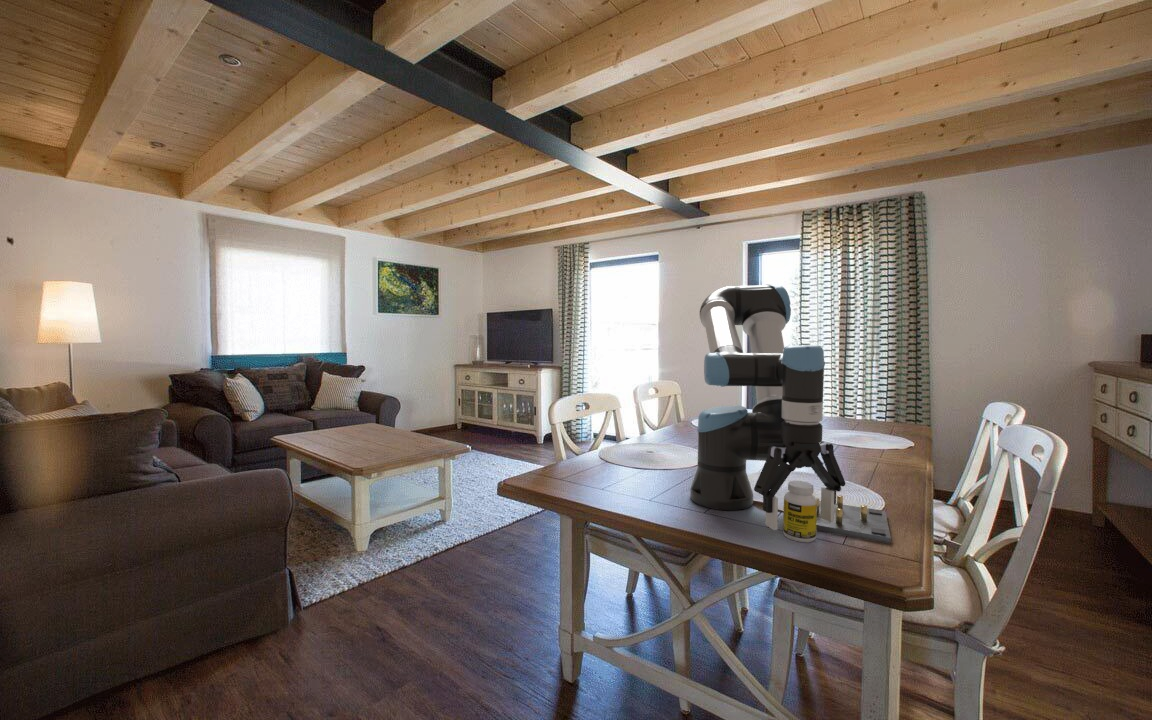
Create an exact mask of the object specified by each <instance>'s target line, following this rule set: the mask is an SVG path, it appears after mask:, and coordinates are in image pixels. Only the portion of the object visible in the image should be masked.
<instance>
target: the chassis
mask: <svg viewBox="0 0 1152 720" xmlns="http://www.w3.org/2000/svg"><path fill="white" fill-rule="evenodd" d="M815 498H816V499H817V522H816V532H824V533H829V534H834V535H839V536H845V537H850V538H856V539H862V540H867V541H873V542H879V543H884V544H889V545H891V541H892V537H891V533H890V528H889V523H888V517H887V514H886V510H883V509H876V508H868V505H864V504H861V505H860V506H854V505H850V504H849V505H847V504H844V503H843V502H844V496H843V495H840V494H836V504H835V505H834V522H829V521H827V520H825V519H823V518H821V500H820V498H818V497H815Z"/></svg>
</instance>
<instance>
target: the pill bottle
mask: <svg viewBox="0 0 1152 720" xmlns="http://www.w3.org/2000/svg"><path fill="white" fill-rule="evenodd" d="M814 489H815V488H814V484H812V483H810V482H807V481H803V480H791V481H788V483H787V490H788V491H787V492H786V493H785V494H784V497H783V519H782V521H783V522H782V533H783V535H784V536H785V537H786V538H787V539H789V540H791V541H795V542H800V543H810V542H813V541H815V540H816V538H817V530H816V522H817V499H816V498H817V497H816V496H815V495H814Z"/></svg>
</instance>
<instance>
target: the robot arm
mask: <svg viewBox="0 0 1152 720" xmlns="http://www.w3.org/2000/svg"><path fill="white" fill-rule="evenodd" d="M791 314H792V308H791V300H790V296H789V293H788V291H787V289H786V288H785V287H783V285H778V284H777V285H776V284H774V285H773V284H765V285H728V286H724V287H720V288H719V289H718V288H717V290H715V291H713V292H712V293H710V294H709V295H707V297H706V298H705V299H704V300H703V302H702V304H701V306H700V308H699V320H700V323H701V325H702V326H703V327H704V329H705V332H706V339H707V345H708V348H709V353H706V354H705V355H704V359H703V374H704V375H703V376H704V382H705V383H706V384H707V385H709V386H716V387H718V386H719V387H721V388H722V387H755V392H756V393H755V395H756V402H757V403H756V404H754V405H753V407H752V409H751V412H748V409H747V408H746V407H745V406H742V405H722V406H716V407H715V406H714V407H710V408H707V409H704V410H702V411H700V413H699V415H698V421H697V427H696V431H697V469H696V471H695V473H694V477H693V480H692V482H691V485H690V490H689V492H690V493H689V494H690V495H689V496H690V499H691V500H692V502H694V503H695V504H697V505H699V506H702V507H705V508H708V509H712V510H723V511H739V510H744V509H747V508H750V507H752V506H753V504H754V492H755V493H757V494H759V495H761V496H762V509H763V511H764V512H765V526H766V527H769V528H770V529H772V530H773V531H777V530H778V521H779V520H778V518H779V517H778V515H779V513H778V512H779V511H778V510H779V509H778V508H779V498H778V497H777V496H776V494H777V493H778V492H779V490H780V489H781V487H782V486H783V484H784V483H785V481H786V480H787V479H788V477H789V476H790V474H791V473H792V472H794V471H795V470H796V469H802V468H811V469H812V471H813V472H814V473H815V475H816V476H817V477H818V478H819V480H820V481H821V483H822V484H823V485H824V486H823V487H821V488H820V489H821V490H820V501H821V518H823V519H825V520H827V521H829V522H834V505H835V504H837V492H841V491H842V487H845V485H846V480H845V477H844V475H843V472H842V471H841V468H840V466H839V463H838V461H837V459H836V456H835V452H834V449H835V448H834V444H832V443H831V442H826V441H823V425H822V423H821V422H822V421H823V417H824V416H823V414H824V410H823V409H824V379H825V374H824V373H825V365H826V362H825V353H824V348H823V347H821V346H820V345H807V344H806V345H804V344H803V345H800V344H799V345H798V344H797V345H795V344H794V345H786V346H785V344H784V338H783V332H782V331H783V330H784V329H785V328H786V325H787V324H789V321H790V319H791ZM736 326H741V327H742V330H743V332H744V333H745V334H746V335H747V336H749V344H750V352H744V349H743V347H742V344H741V341H740V337H739V334H738V330H737V327H736ZM819 455H820V456H821V459H822V460H823V461H822V460H821V459H820V457H819ZM747 461H761V462H762V461H763V462H764V465H763V466H762V469H761V471H760V474H759V476H758V479H757V480H756V482H755V484H754V488H753V490H754V492H753V490H752V486H751V483H750V479H749V477H748V476H749V475H748V473H747ZM824 466H825V467H824Z"/></svg>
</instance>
